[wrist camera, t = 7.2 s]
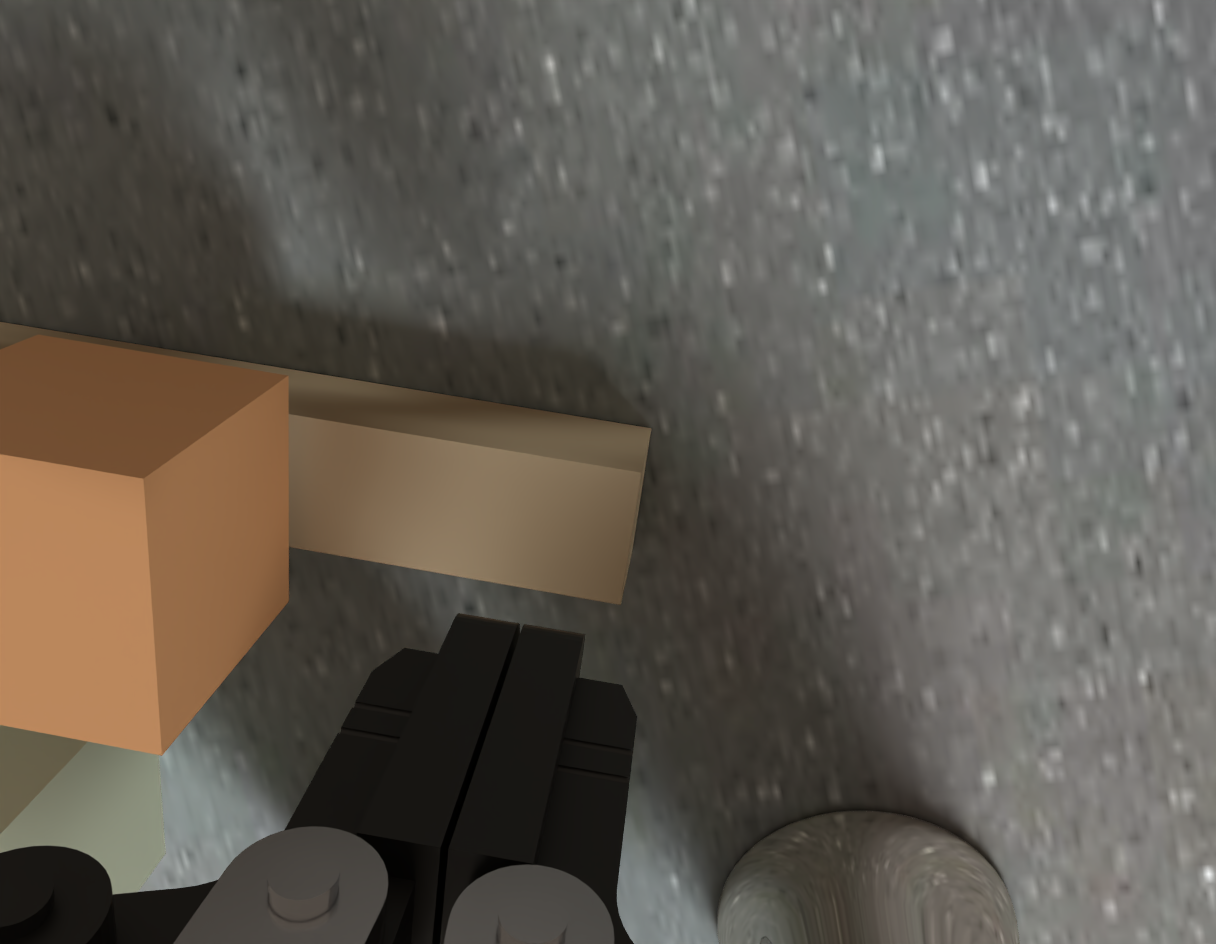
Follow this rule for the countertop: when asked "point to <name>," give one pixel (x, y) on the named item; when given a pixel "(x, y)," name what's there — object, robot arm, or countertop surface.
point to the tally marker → (134, 535)
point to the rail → (451, 481)
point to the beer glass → (864, 886)
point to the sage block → (82, 802)
